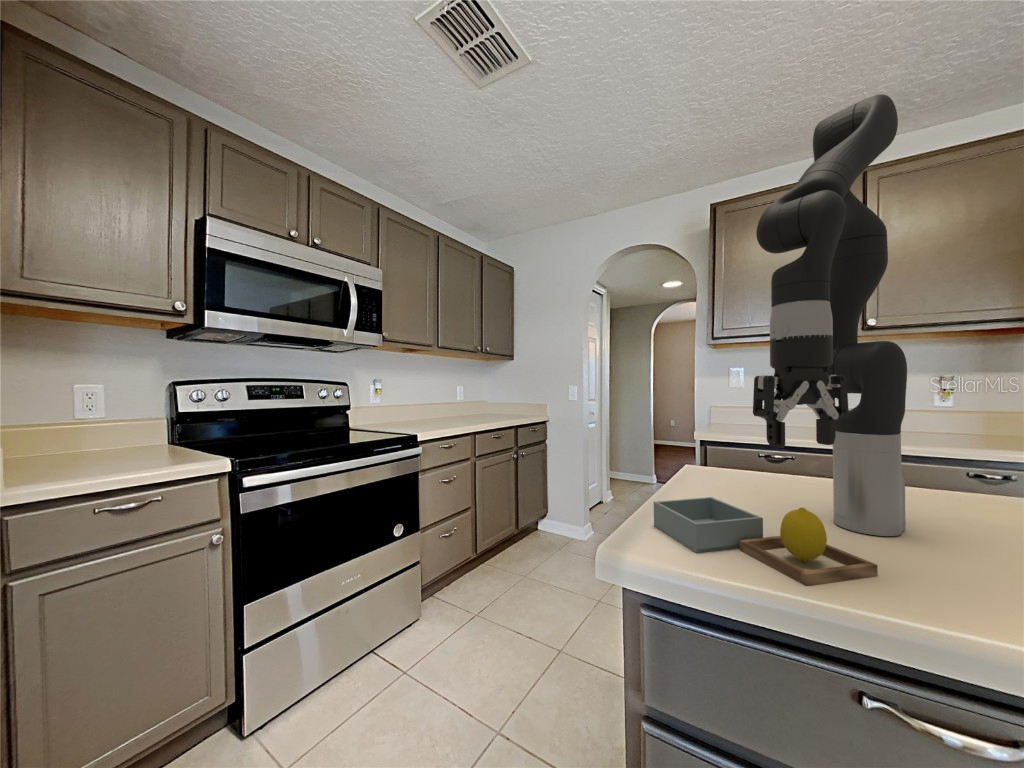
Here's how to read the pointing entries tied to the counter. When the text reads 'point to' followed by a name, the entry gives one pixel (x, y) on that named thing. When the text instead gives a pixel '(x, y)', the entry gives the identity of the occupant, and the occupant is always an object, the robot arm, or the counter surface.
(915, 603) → the counter surface
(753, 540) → the tray
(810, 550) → the lemon
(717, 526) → the bin
